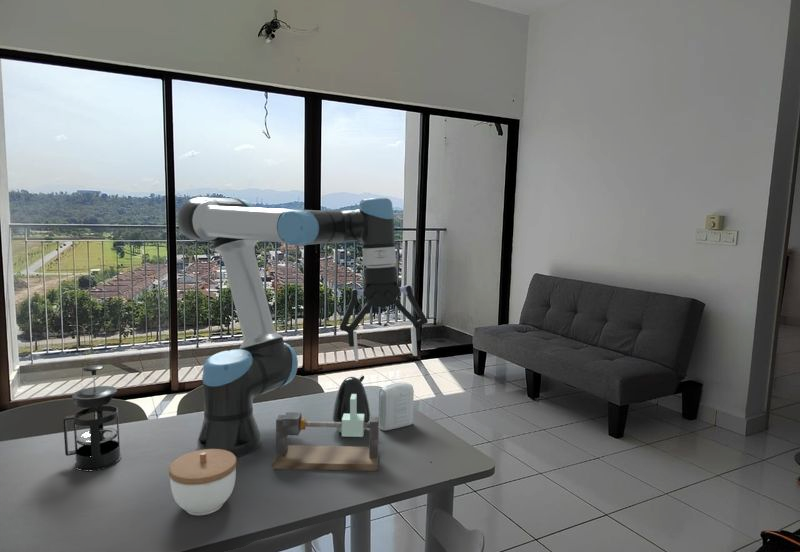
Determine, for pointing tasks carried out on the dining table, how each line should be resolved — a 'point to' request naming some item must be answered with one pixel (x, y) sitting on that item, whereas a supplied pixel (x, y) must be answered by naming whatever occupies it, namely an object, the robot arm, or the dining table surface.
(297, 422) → the rod stand
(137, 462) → the dining table surface
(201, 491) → the lidded bowl
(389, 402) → the photo printer
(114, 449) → the french press
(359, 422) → the pale green block
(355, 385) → the pump dispenser
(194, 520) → the dining table surface
